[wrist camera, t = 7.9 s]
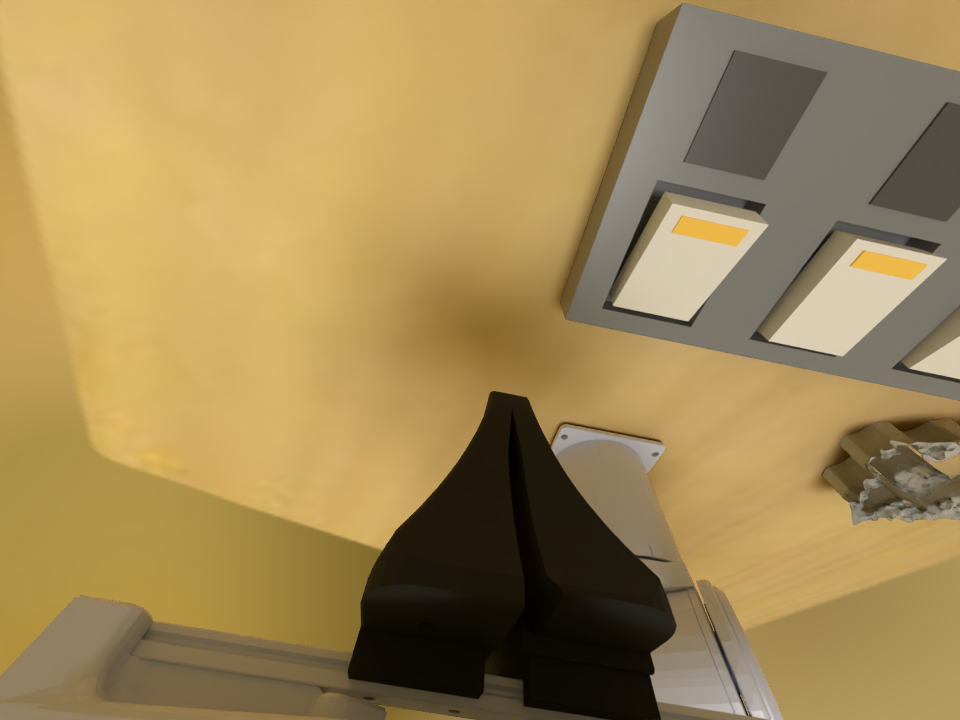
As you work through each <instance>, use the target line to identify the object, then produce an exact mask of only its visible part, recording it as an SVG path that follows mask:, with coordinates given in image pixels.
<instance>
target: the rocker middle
mask: <svg viewBox="0 0 960 720" xmlns="http://www.w3.org/2000/svg"><path fill="white" fill-rule="evenodd" d="M946 260H947V259H946V258H943V257H941V256H938V255H935V254H932V253H930V252H927V251H924V250H922V249H918V248H914V247H909V246H905V245H900V244H896V243H891V242H887V241H882V240H878V239H874V238H869V237H865V236H860V235H856V234H851V233H847V232H842V231H838V230H835V231H834V232H833V234H832V235H831V236H830V237H829V238H828V240H827V241H826V242H825V243H824V245H823V246H822V247H821V248H820V249H819V251H818V252H817V253H816V254H815V256H814V257H813V258H812V259H811V261H810V262H809V263H808V264H807V265H806V267H805V268H804V269H803V270H802V272H801V273H800V274H799V275H798V276H797V278H796V279H795V280H794V281H793V283H792V284H791V285H790V286H789V287H788V289H787V290H786V291H785V292H784V294H783V295H782V296H781V297H780V298H779V300H778V301H777V302H776V304H775V305H774V306H773V308H772V309H771V311H770V312H769V313H768V315H767V316H766V317H765V319H764V320H763V321H762V323H761V324H760V325H759V327H758V328H757V329H756V330H757V331H758V332H760V333H761V334H762V335H763V336H764V337H765V338H766V339H767V340H768V341H771V342H776V343H780V344H785V345H790V346H795V347H800V348H804V349H809V350H814V351H819V352H824V353H828V354H833V355H838V356H844V355H845V354H846V353H847V352H848V351H849V350H850V349H851V348H852V347H853V346H854V345H856V344H857V343H858V342H859V341H860V340H861V339H862V338H863V337H864V336H865V335H866V334H867V333H868V332H870V331H871V330H872V329H873V328H874V327H875V326H876V325H877V324H878V323H879V322H880V321H881V320H882V319H883V318H885V317H886V316H887V315H888V314H889V313H890V312H891V311H892V310H893V309H894V308H895V307H896V306H897V305H899V304H900V303H901V302H902V301H903V300H904V299H905V298H906V297H907V296H908V295H909V294H910V293H911V292H912V291H914V290H915V289H916V288H917V287H918V286H919V285H920V284H921V283H922V282H923V281H924V280H925V279H926V278H928V277H929V276H930V275H931V274H932V273H933V272H934V271H935V270H936V269H937V268H938V267H939V266H940V265H941V264H943V263H944V262H945V261H946Z"/></svg>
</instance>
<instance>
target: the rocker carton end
mask: <svg viewBox="0 0 960 720" xmlns="http://www.w3.org/2000/svg"><path fill="white" fill-rule="evenodd" d="M900 361H901V362H902V363H903V364H904V365H905V366H907V367H908V368H909V369H913V370H918V371H923V372H928V373H933V374H937V375H942V376H947V377H952V378H957V379H960V306H959V307H957V308H956V309H955V310H954V311H953V312H952V313H951V314H950V315H949V316H948V317H947V318H945V319H944V320H943V321H942V322H941V323H940V324H939V325H938V326H937V327H936V328H935V329H934V330H932V331H931V332H930V333H929V334H928V335H927V336H926V337H925V338H924V339H923V340H922V341H921V342H920V343H918V344H917V345H916V346H915V347H914V348H913V349H912V350H911V351H910V352H909V353H908V354H907V355H905V356H904V357H903V358H902V359H901V360H900Z"/></svg>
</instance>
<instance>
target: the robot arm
mask: <svg viewBox="0 0 960 720" xmlns="http://www.w3.org/2000/svg"><path fill="white" fill-rule="evenodd" d="M562 435H565V436H562ZM664 451H665V446H664V444H663V443H661V442H657V441H652V440H647V439H642V438H636V437H631V436H626V435H621V434H616V433H611V432H605V431H600V430H595V429H590V428H585V427H579V426H574V425H569V424H564V425H562V426H560V428H559V430H558V432H557V434H556V436H555V439H554V441H553V443H552V445H551V447H550V445H549V443H548V441H547V439H546V437H545V436H544V434H543V432H542V430H541V428H540V425H539V423H538V421H537V419H536V417H535V414H534V412H533V410H532V407H531V405H530V403H529V400H528V399H527V397H522V396H517V395H512V394H507V393H502V392H497V391H493V392H490V395H489V398H488V402H487V406H486V410H485V413H484V417H483V419H482V421H481V423H480V426H479V428H478V430H477V432H476V433H475V435H474V437H473V439H472V440H471V442H470V444H469V445H468V447H467V449H466V450H465V452H464V453H463V455H462V456H461V458H460V459H459V461H458V462H457V463H456V465H455V466H454V468H453V469H452V470H451V471H450V473H449V474H448V475H447V477H446V478H445V479H444V480H443V482H442V483H441V484H440V485H439V486H438V488H437V489H436V490H435V491H434V492H433V493H432V494H431V495H430V497H429V498H428V499H427V500H426V501H425V502H424V503H423V504H422V505H421V506H420V507H419V508H418V509H417V510H416V511H415V512H414V513H413V514H412V515H411V516H410V517H409V518H408V519H407V520H406V521H405V522H404V523H403V524H402V525H401V526H400V527H399V528H398V529H397V530H396V531H395V533H394V534H393V536H392V537H391V539H390V540H389V542H388V543H387V545H386V546H385V548H384V549H383V551H382V552H381V554H380V556H379V557H378V559H377V561H376V563H375V564H374V566H373V568H372V570H371V573H370V575H369V577H368V580H367V584H366V587H365V590H364V594H363V597H362V600H361V628H360V631H359V634H358V638H357V641H356V644H355V648H354V651H353V653H351V652H345V651H339V650H333V649H326V648H320V647H314V646H308V645H301V644H296V643H289V642H283V641H277V640H270V639H264V638H258V637H252V636H245V635H239V634H233V633H227V632H221V631H215V630H208V629H202V628H195V627H189V626H183V625H177V624H170V623H165V622H159V621H153V618H152V616H151V615H150V613H149V612H148V611H147V610H145V609H144V608H142V607H140V606H137V605H135V604H131V603H127V602H121V601H114V600H108V599H102V598H96V597H90V596H83V595H81V596H79V597H75V598H74V599H73V600H72V601H71V602H70V603H69V604H68V605H67V607H66V608H64V609H63V611H62V612H61V613H60V614H59V615H58V616H57V617H56V618H55V619H54V620H53V621H52V622H51V623H50V624H49V626H47V627H46V629H45V630H44V631H43V632H42V633H41V634H40V635H39V636H38V637H37V638H36V639H35V640H34V641H33V642H32V643H31V644H30V645H29V647H28V648H27V649H26V650H25V651H24V652H23V653H22V654H21V655H20V656H19V657H18V658H17V659H16V660H15V661H14V663H12V665H11V666H10V667H9V668H8V669H7V670H6V671H5V672H4V673H3V674H2V675H1V676H0V720H385V718H386V714H387V713H386V711H385V708H383V707H380V706H377V705H384V706H390V707H397V708H403V709H410V710H416V711H423V712H429V713H436V714H443V715H449V716H455V717H462V718H468V719H475V720H783V717H782V715H781V712H780V710H779V708H778V706H777V703H776V701H775V699H774V697H773V694H772V692H771V690H770V688H769V686H768V683H767V681H766V679H765V677H764V674H763V672H762V670H761V668H760V666H759V664H758V661H757V659H756V657H755V655H754V653H753V650H752V648H751V646H750V644H749V642H748V640H747V638H746V635H745V633H744V631H743V629H742V627H741V625H740V623H739V621H738V619H737V617H736V615H735V613H734V611H733V608H732V606H731V605H730V603H729V601H728V599H727V597H726V595H725V593H724V592H723V591H721V590H720V589H718V588H717V587H715V586H712V585H711V583H710V582H709V581H707V580H699V581H696V582H697V585H698V587H699V590H700V592H701V595H702V597H703V600H704V602H705V603H704V605H705V608H706V611H707V613H708V616H709V618H710V620H711V623H712V625H713V628H714V630H715V631H713V628H712V626H711V623H710V621H709V619H708V616H707V614H706V611H705V609H704V606H703V604H702V601H701V599H700V597H699V594H698V592H697V590H696V587H695V585H694V583H693V581H692V578H691V576H690V574H689V572H688V569H687V567H686V565H685V563H684V562H683V560H682V558H681V556H680V553H679V551H678V548H677V546H676V543H675V541H674V538H673V536H672V533H671V531H670V528H669V526H668V523H667V521H666V518H665V516H664V514H663V511H662V509H661V506H660V504H659V501H658V499H657V496H656V494H655V491H654V489H653V486H652V484H651V481H650V479H649V476H648V473H649V471H650V470H651V468H652V467H653V466H654V464H655V463H656V462H657V460H658V459H659V458H660V456H661V455H662V454H663V452H664ZM740 694H741V695H742V698H743V700H744V702H745V705H746V707H747V710H748V712H749V716H748V713H747V711H746V708H745V706H744V703H743V701H742V698H741V696H740ZM374 704H377V705H374Z"/></svg>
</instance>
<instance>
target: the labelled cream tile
mask: <svg viewBox="0 0 960 720" xmlns="http://www.w3.org/2000/svg"><path fill="white" fill-rule="evenodd" d="M768 225H769V224H768V223H767V222H766V221H765V220H764V219H763V218H762V217H761V216H760V215H759V214H758V213H757V212H755V211H750V210H746V209H742V208H737V207H733V206H728V205H724V204H719V203H715V202H710V201H706V200H702V199H697V198H693V197H688V196H684V195H679V194H675V193H670V192H666V191H665V192H664V194H663V196H662V198H661V199H660V201H659V203H658V205H657V207H656V208H655V210H654V212H653V214H652V216H651V217H650V219H649V221H648V223H647V225H646V226H645V228H644V230H643V232H642V234H641V235H640V237H639V239H638V241H637V243H636V245H635V246H634V248H633V250H632V252H631V254H630V255H629V257H628V259H627V261H626V263H625V264H624V266H623V268H622V270H621V272H620V273H619V275H618V277H617V279H616V281H615V282H614V284H613V286H612V288H611V290H610V296H611V300H612V305H613V306H617V307H621V308H626V309H631V310H636V311H640V312H645V313H650V314H655V315H660V316H664V317H669V318H674V319H679V320H684V321H689V320H690V319H691V318H692V316H693V315H694V314H695V313H696V312H697V310H698V309H699V308H700V307H701V306H702V304H703V303H704V302H705V301H706V300H707V298H708V297H709V296H710V295H711V294H712V292H713V291H714V290H715V289H716V288H717V286H718V285H719V284H720V283H721V282H722V280H723V279H724V278H725V277H726V276H727V274H728V273H729V272H730V271H731V270H732V268H733V267H734V266H735V265H736V264H737V263H738V261H739V260H740V259H741V258H742V257H743V255H744V254H745V253H746V252H747V251H748V249H749V248H750V247H751V246H752V245H753V243H754V242H755V241H756V240H757V239H758V237H759V236H760V235H761V234H762V233H763V231H764V230H765V229H766V228H767V227H768Z"/></svg>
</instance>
